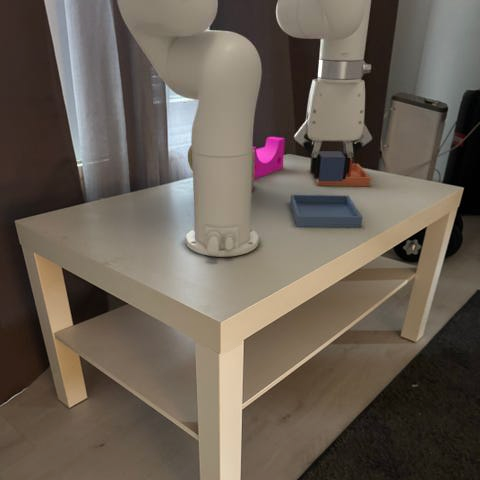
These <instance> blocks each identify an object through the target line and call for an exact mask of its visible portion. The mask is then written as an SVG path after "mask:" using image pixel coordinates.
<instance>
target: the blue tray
mask: <svg viewBox="0 0 480 480" xmlns="http://www.w3.org/2000/svg"><path fill="white" fill-rule="evenodd" d="M289 205H290V208H291V212H292V214H293V217H294V221H295V225H296V227H307V228H308V227H309V228H310V227H311V228H313V227H315V228H362V223H363V216H362V214H361V213H360V211H359V209H358V208H357V206H356V205H355V203H354V201H353V200H352V199H351V197H350V195H340V194H339V195H338V194H337V195H335V194H334V195H333V194H332V195H331V194H290V202H289Z"/></svg>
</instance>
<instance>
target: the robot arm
mask: <svg viewBox="0 0 480 480" xmlns="http://www.w3.org/2000/svg"><path fill="white" fill-rule="evenodd" d="M116 3H117V7H118V10H119V12H120V15H121V17H122V20H123V22H124V24H125V26H126V27H127V29H128V30H129V32H130V34H131V35H132V37H133V38H134V40H135V41H136V43H137V44H138V46H139V47H140V49H141V51H142V52H143V53H144V55H145V56H146V58H147V60H148V61H149V63H150V64H151V66H152V67H153V68H154V70H155V71H156V73H157V74H158V77H160V79H161V80H162V81H163V82H164V84H165V85H166V86H167V88H169V89H170V90H171V91H172V92H173V93H174V94H176V95H178V96H180V97H182V98H186V99H189V100H194V101H197V106H196V110H195V113H194V117H193V121H192V125H191V136H190V137H191V138H190V139H191V141H190V144H191V145H192V164H193V171H192V189H193V190H192V192H193V193H192V194H193V218H194V220H193V221H194V228H193V229H191V230H189V232H187V233H186V236H185V244H186V246H187V247H188V248H189V250H191V251H192V252H195V253H197V254H200V255H204V256H209V257H218V258H221V257H222V258H227V257H228V258H229V257H236V256H242V255H246V254H248V253H250V252H252V251H254V250H255V249H256V248H257V247H258V246H259V244H260V243H259V242H260V237H259V234H258V233H257V232H256V231H254V230H253V229H252V228H251V217H252V216H251V214H252V213H251V212H252V190H251V184H252V147H253V146H254V145H253V143H254V142H253V140H254V124H255V114H256V108H257V102H258V98H259V94H260V93H259V92H260V88H261V83H262V76H263V75H262V74H263V73H262V72H263V71H262V69H263V68H262V60H261V57H260V54H259V52H258V50H257V48H256V46H255V45H254V44H253V43H252V41H250V40H249V39H248V38H246V37H245V36H244V35H242V34H239V33H237V32H234V31H228V30H212V29H209V28H210V27H211V26H212V24H213V22H214V21H215V19H216V17H217V15H218V14H217V13H218V5H219V1H218V0H116ZM371 5H372V0H277V3H276V7H275V15H276V16H275V17H276V21H277V24H278V25H279V27H280V29H281V30H282V31H283V32H284V33H285V34H287V35H289V36H290V37H293V38H297V39H308V40H316V39H317V40H320V44H319V45H320V46H319V56H318V68H317V78H314V79H313V78H312V82H311V84H310V89H309V93H308V99H307V107H306V116H305V121H304V123H303V124H302V125H301V126H300V127H299V128H298V130H297V131H296V133H295V134H294V136H293V138H294V140H295V141H296V142H297V143H298V144H299V145H300V146H302V147H303V148H304V149H305V150H306V151H307V152H308V154H310V166H309V167H310V168H309V173H310V174H312V177H313V179H314V180H315V179H318V177H319V167H320V157H319V151H321V147H322V144H323V142H342V144H343V152H342V154H343V155H344V156H345V164H344V172H343V179H346V174H349V169H350V161H351V159H353V157H354V155H355V154H356V153H357V152H358V151H360V150H361V149H362V148H363V147H364V146H366V145H367V144H368V143H370V142H372V140H373V136H372V134H371V133H370V131H369V129H368V127H367V125H366V124H365V112H366V111H365V110H366V86H365V85H366V83H365V80H363V79H362V78H363V76H364V75H366V74H370V73H371V71H372V64H371V63H369V64H368V63H366V62H365V60H364V58H365V51H366V43H367V37H368V29H369V28H368V27H369V20H370V12H371ZM305 135H306V136H307V138H308V139H310V140H311V141H312V142H310V141H309V140H307V138H305Z"/></svg>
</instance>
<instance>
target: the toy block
mask: <svg viewBox="0 0 480 480" xmlns="http://www.w3.org/2000/svg"><path fill="white" fill-rule="evenodd" d="M285 139H286V138H284V137H278V136H268V137H267V138H266V140H265V145H264V146H263V147H259V148H257V147H256V146H252V149H254V151H255V168H254V180H255V179H259V178H261V177H264V176H266V175H269V174H271V173H274V172H277V171H279V170H282V169H284V157H285V156H284V155H285V141H286V140H285Z"/></svg>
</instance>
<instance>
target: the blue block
mask: <svg viewBox="0 0 480 480" xmlns="http://www.w3.org/2000/svg"><path fill="white" fill-rule="evenodd" d="M319 157H320V167H319V177H318V180H319V181H342V180H343V172H344V164H345V156H344V155H343V152H342V151H340V150H338V151H335V150H334V151H333V150H332V151H331V150H328V151H327V150H325V151H324V150H319Z"/></svg>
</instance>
